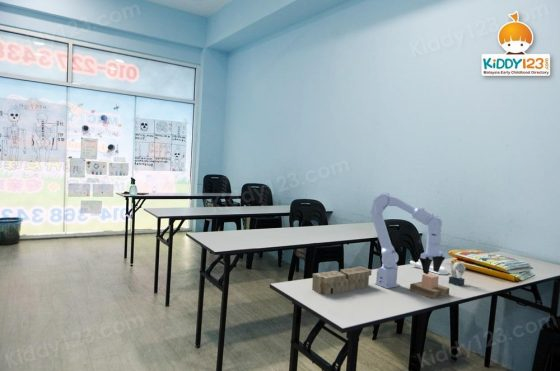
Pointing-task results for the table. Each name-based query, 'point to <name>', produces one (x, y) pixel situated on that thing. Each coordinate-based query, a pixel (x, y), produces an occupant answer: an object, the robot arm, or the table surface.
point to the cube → (430, 280)
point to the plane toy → (419, 265)
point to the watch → (456, 278)
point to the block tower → (341, 280)
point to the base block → (429, 290)
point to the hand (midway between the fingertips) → (430, 272)
